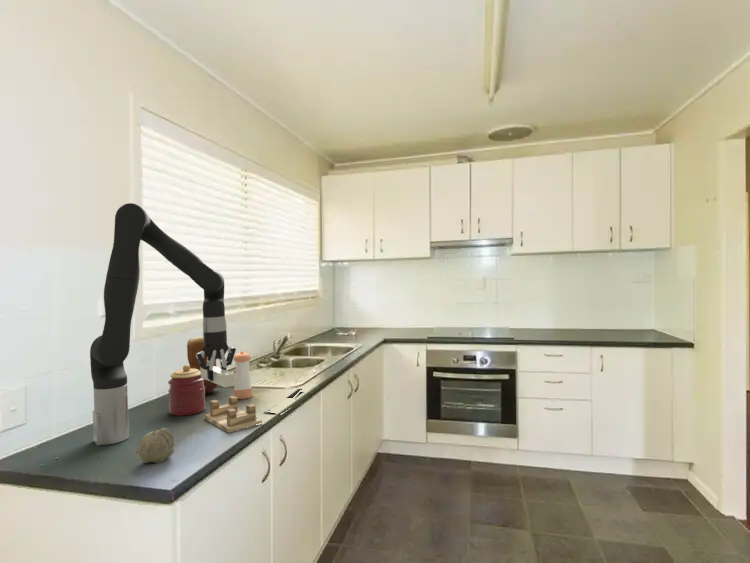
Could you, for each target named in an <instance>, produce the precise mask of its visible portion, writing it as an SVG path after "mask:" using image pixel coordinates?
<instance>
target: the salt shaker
mask: <svg viewBox="0 0 750 563" xmlns="http://www.w3.org/2000/svg"><path fill="white" fill-rule="evenodd" d="M251 358H252V356H251V354H250V353H247V352H245V351H244V350H243V351H240V352H239V353H235V354H234V357H233V361H234V362H235V373H234V377H235V385H234V388H233V396H235V397H237V400H238V399H239V400H243V399H249V398H251V397H252V396H253V389H252V386H251V385H252V379H251V373H250V360H251Z"/></svg>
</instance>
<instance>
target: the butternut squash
mask: <svg viewBox="0 0 750 563" xmlns="http://www.w3.org/2000/svg"><path fill="white" fill-rule="evenodd" d="M203 348H204V339H203V336H194V337H191V338H189V339H188V340H187V344H186V349H187V352H186V354H187V355H186V356H187V362H188V365H189V366H190V369H198V370H199V371H201V369H200V364H199V362H198V360H197V358H196V356H195V354H196V353H199V352H201V351H203ZM203 359H204V361H205V363H206V365H207V356H206V355H205V354H204V358H203ZM213 366H216V367H218V366H217V359H216V360H215V361H214V364H213ZM204 386H205V395H208V394H210V393H212V392H213V391H214V390H215V389H216V388H217V387H218V386H219V385H218V384H215V383H213V382H211V381H208V380H206V379H205V380H204Z"/></svg>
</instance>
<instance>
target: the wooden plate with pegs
mask: <svg viewBox="0 0 750 563" xmlns="http://www.w3.org/2000/svg"><path fill="white" fill-rule="evenodd" d="M238 403H239V402H238V399H237V397H235V396H234V395H231V396H228V403H227V404H226V403H225V404H221V405H220V401H219V400H217V399H212V400H209V412H210V413H207V414H204V420H205V421H207V422H208V423H211V424H213V425H214V426H216V427H217V428H219V429H221V430H222V429H223V431H224V432H225V431H226V433H227V432H228V433H227V434H230V433H229V432H232V433H234V432H233V431H236V432H238V431H237V430H239V431H241V430H240V429H243V428H247V427H250V428H252V427H251V426H253V425H256V424H259V423H262V424H263V420H262V419H260V418H258V417H256V416H257V415H256V413H257V411H256V405H255V404H253V403H250V404H246V405H245V410H246V411H245V410H243V409H241V408H238V407H239V406H238ZM247 429H248V428H247ZM243 430H244V429H243Z"/></svg>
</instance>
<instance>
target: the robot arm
mask: <svg viewBox="0 0 750 563" xmlns="http://www.w3.org/2000/svg"><path fill="white" fill-rule="evenodd" d="M113 230H114V232H113V243H112V249H111V253H110V257H109V262H108V266H107V272H106V275H105V276H106V277H105V282H104V288H103V305H104V317H105V320H104V326H103V329H102V334H101V335H99V336H98V337H96V338H95V339H94V340H93V341H92V343H91V345H90V351H89V358H90V361H89V362H90V374H91V379H92V383H93V385H92V386H93V410H92V433H93V442H94V443H95V445H96V446H97V447H98V446H103V445H104V446H107V445H113V444H118V443H121V442H124V441H126V440H127V439H129V436H130V434H129V433H130V427H129V396H128V395H129V394H128V393H129V392H128V376H127V373H126V371H125V365H124V361H125V360H126V359H127V357H128V356H129V353H130V348H131V325H132V318H133V315H134V309H135V305H136V299H137V295H138V288H139V283H140V276H141V274H140V267H141V266H140V246H141V241H143V242H144V243H146V244H147V245H149V246H150V247H152V248H153V249H154V250H156V251H157V252H158V253H159V254H160V255H162V257H164V258H165V259H166V260H167V261H168V262H169V263H171V265H173V266H174V267H176V268H177V269H178V270H179V271H181V273H184V275H186V276H188V277H189V278H190V279H191V280H192V281H193V282H194V283H195V284H196V285H197V286H199V287H200V289H202V290H203V303H202V316H203V317H202V335H203V336H202V337H203V339H204V348H203V351H201V352H199V353H196V354H195V356H196V358H197V360H198V362H199V364H200V366H201V368H202V369H204V370H207V378H208V379H209V380H210V381H213V370H212V369H213V364H214V361H215V360H216V361H217V360H218V362H219V364H220V367H219V368H221V369H224V370H227V368H228V366H231V365H232V363H233V361H234V359H233V358H234V356H235V355H236V351H237V349H236V348H235V347H229V345H228V336H227V334H228V333H227V320H226V314H225V313H226V312H225V310H226V309H225V277H224V276H223V275H222V273H220V272H219V271H215V270H214V269H212V268H211V267H209V266H208V265H207V264H205V263H204V262H203V260H202V259H201V258H200V257H199V256H198V255H197V254H195V253H194V252H192V251H191V250H190V249H189V248H187V247H186V246H185V245H183V244H182V243H180V242H178V241H177V240H176V239H174V238H172V237H171V236H170V235H168V234H167V233H166V232H165V231H164V230H162V229H161V228H160V227H159V226H158V225H157V223H155V222H154V221H153V220H152V219H151V217H150V215H149V214H148V212H146V210H145V209H144V208H143V207H142V206H140V205H138V204H136V203H131V202H130V203H125V204H123V205H121V206H120V207H119V208H118V210H117V211H116V213H115V215H114V229H113ZM226 353H227V355H226ZM204 354H205V355H206V356H207V366H206V363H205V361H204V359H203V358H204ZM226 356H227V357H226Z"/></svg>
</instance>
